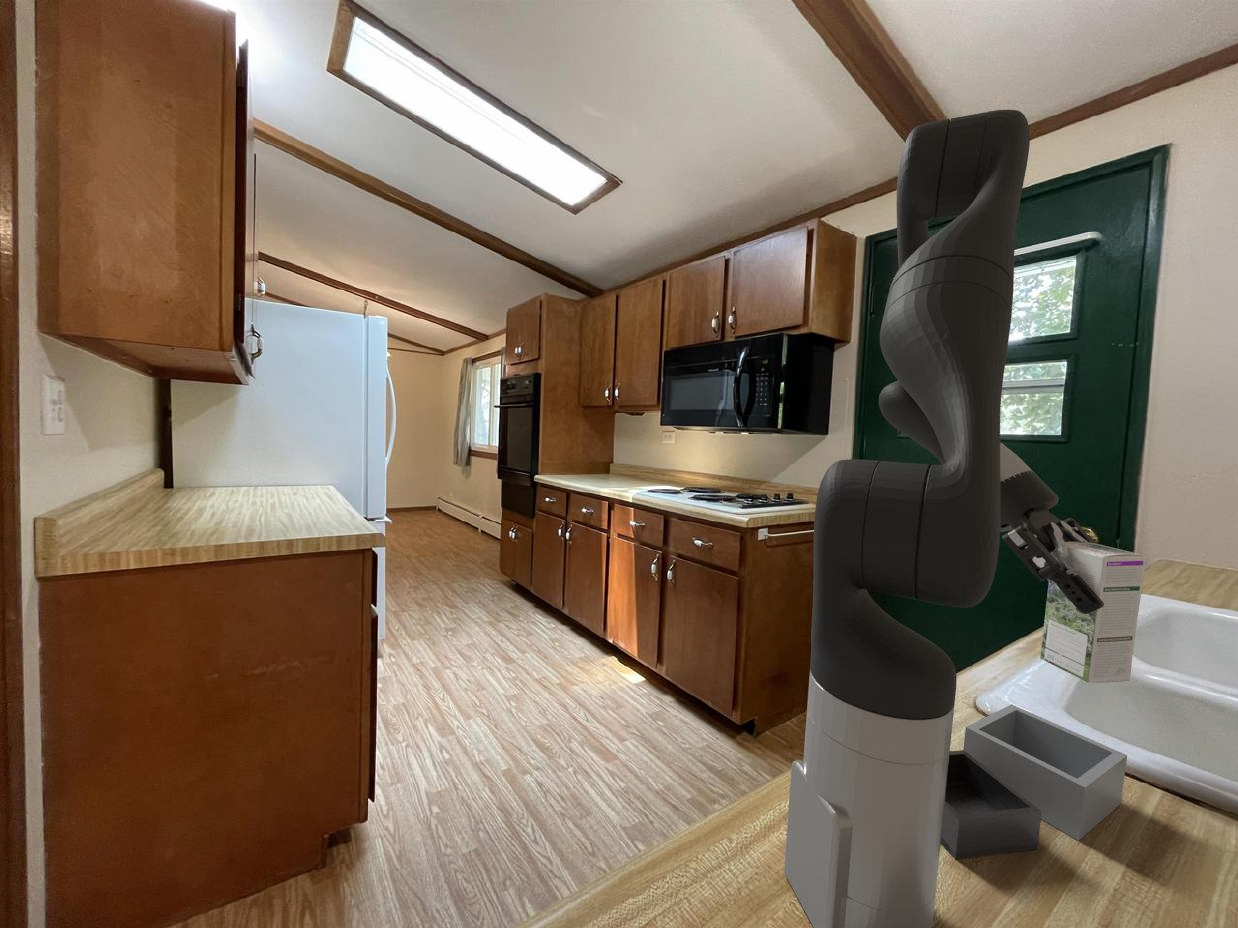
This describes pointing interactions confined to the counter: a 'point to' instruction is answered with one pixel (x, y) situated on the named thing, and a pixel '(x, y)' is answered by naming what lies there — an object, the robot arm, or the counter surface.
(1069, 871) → the counter surface
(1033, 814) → the bin
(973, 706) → the counter surface
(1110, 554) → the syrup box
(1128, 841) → the counter surface
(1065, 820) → the light gray open bin
